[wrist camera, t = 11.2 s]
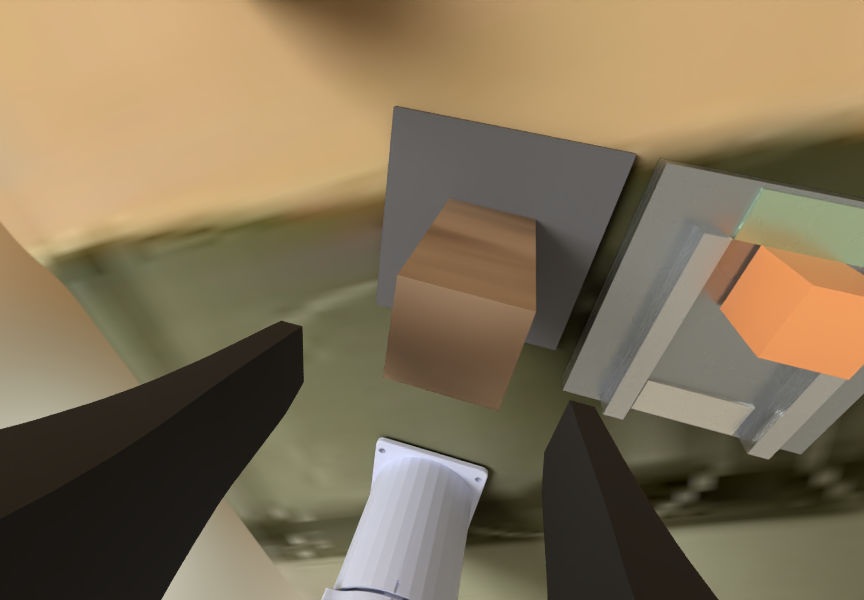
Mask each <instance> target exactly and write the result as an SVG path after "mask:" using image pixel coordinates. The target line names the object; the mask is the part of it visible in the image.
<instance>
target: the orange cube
mask: <svg viewBox="0 0 864 600" xmlns="http://www.w3.org/2000/svg"><path fill="white" fill-rule="evenodd" d="M720 310H721V311H722V312H723V314H724V315H725V316H726V318H727V319H728V320H729V321H730V323H731V324H732V325H733V327H734V328H735V329H736V330H737V332H738V333H739V334H740V336H741V337H742V338H743V339H744V341H745V342H746V343H747V345H748V346H749V347H750V348H751V350H752V351H753V352H754V354H755V355H756V356H757V357H758V358H762V359H766V360H770V361H774V362H778V363H782V364H786V365H790V366H794V367H798V368H802V369H806V370H810V371H815V372H819V373H823V374H827V375H831V376H835V377H839V378H843V379H847V380H849V379H850V378H851V377H852V376H853V375H854V374H855V373H856V372H857V371H858V370H859V369H860V368H861V367H862V366H863V365H864V275H863V274H861V273H860V272H858V271H856V270H855V269H853V268H851V267H850V266H848V265H847V264H845V263H841V262H836V261H832V260H827V259H823V258H818V257H813V256H809V255H804V254H799V253H795V252H790V251H786V250H781V249H776V248H772V247H767V246H762V245H761V246H760V248H759V249H758V251H757V252H756V254H755V256H754V257H753V259H752V260H751V262H750V263H749V265H748V266H747V268H746V269H745V271H744V272H743V274H742V275H741V277H740V278H739V280H738V281H737V283H736V285H735V286H734V288H733V289H732V291H731V292H730V294H729V295H728V297H727V298H726V300H725V301H724V303H723V304H722V306H721V307H720Z"/></svg>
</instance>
